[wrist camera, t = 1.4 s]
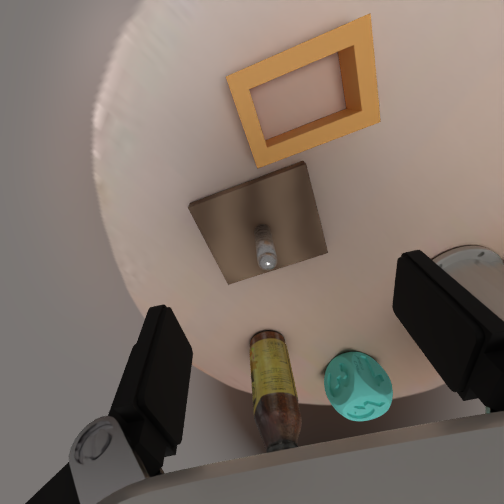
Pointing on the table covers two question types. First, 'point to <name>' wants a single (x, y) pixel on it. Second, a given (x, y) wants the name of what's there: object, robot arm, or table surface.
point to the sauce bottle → (274, 392)
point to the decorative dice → (358, 386)
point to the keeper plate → (261, 223)
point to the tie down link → (337, 40)
